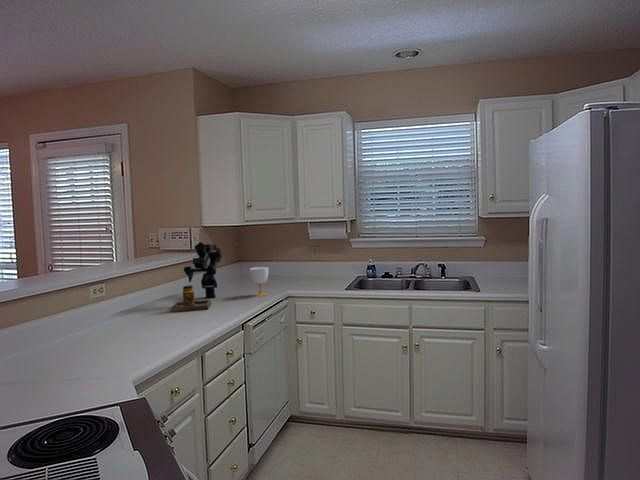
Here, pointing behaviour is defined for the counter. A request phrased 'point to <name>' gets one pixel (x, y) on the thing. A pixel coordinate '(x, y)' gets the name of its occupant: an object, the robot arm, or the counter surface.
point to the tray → (200, 306)
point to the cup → (259, 277)
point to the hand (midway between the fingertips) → (197, 281)
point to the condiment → (188, 296)
